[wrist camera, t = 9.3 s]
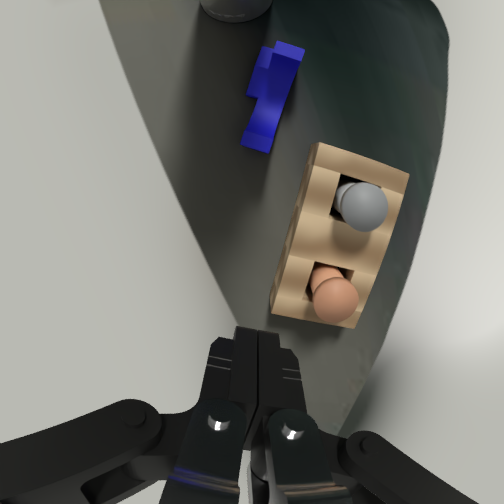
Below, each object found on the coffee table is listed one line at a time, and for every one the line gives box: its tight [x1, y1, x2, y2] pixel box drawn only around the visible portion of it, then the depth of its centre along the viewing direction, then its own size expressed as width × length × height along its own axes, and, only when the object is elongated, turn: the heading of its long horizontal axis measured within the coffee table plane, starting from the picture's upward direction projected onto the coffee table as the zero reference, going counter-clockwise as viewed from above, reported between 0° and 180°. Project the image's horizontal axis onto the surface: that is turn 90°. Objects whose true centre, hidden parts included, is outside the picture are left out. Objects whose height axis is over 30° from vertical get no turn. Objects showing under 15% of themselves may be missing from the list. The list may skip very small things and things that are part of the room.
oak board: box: [270, 142, 409, 328], centre depth 34 cm, size 20×11×5 cm, turn 167°
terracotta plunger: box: [308, 261, 359, 323], centre depth 33 cm, size 5×5×8 cm
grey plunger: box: [332, 180, 388, 232], centre depth 31 cm, size 5×5×8 cm
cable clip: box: [240, 41, 305, 154], centre depth 29 cm, size 12×4×6 cm, turn 162°
